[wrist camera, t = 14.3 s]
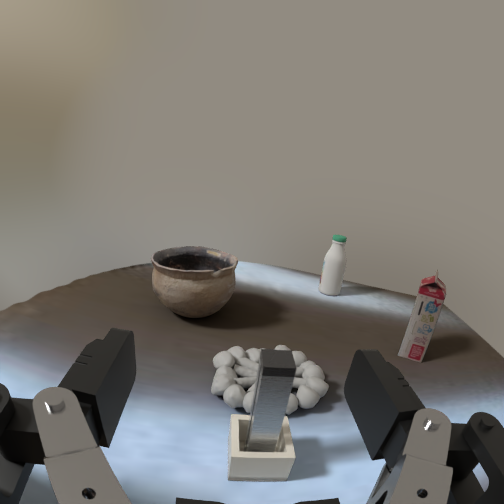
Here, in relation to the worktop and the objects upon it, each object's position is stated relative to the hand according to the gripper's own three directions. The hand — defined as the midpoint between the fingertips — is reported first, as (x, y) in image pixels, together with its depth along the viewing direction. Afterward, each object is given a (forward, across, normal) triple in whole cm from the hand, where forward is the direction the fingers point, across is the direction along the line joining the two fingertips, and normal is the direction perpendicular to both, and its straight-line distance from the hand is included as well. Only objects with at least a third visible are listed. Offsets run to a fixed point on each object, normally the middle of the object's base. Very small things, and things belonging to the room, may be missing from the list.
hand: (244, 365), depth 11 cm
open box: (+19, -6, +32) cm, 38 cm away
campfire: (+38, -9, +32) cm, 50 cm away
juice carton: (+50, -48, +32) cm, 76 cm away
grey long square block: (+19, -6, +31) cm, 37 cm away
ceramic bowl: (+67, +9, +32) cm, 75 cm away
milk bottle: (+89, -36, +32) cm, 101 cm away
